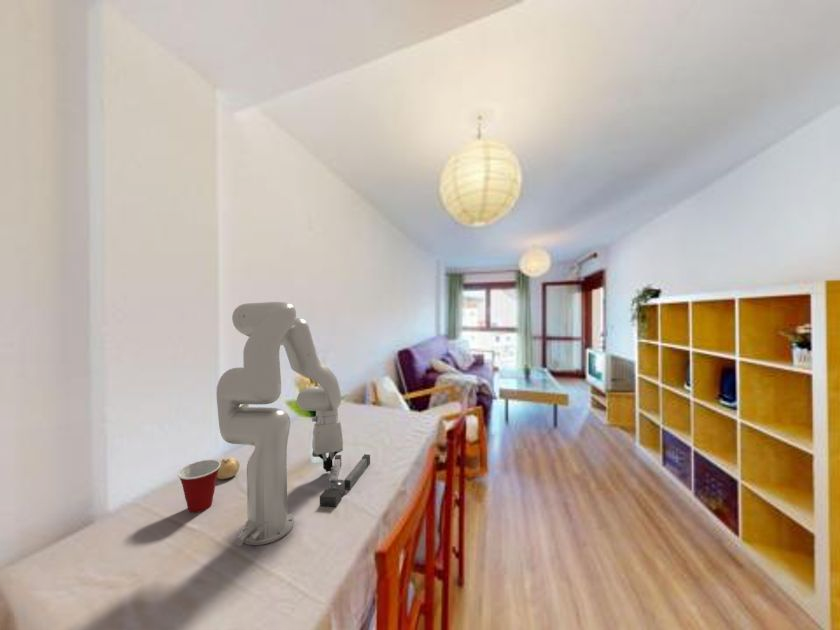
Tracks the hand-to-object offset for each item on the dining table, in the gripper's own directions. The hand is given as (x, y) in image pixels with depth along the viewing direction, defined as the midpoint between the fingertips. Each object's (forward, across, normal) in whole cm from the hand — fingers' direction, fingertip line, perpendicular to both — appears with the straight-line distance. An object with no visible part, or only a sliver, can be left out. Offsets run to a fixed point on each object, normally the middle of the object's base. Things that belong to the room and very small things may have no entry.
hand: (327, 470), depth 117 cm
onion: (+2, -32, +16) cm, 36 cm away
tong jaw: (+1, +3, -6) cm, 7 cm away
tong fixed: (+1, +5, -10) cm, 11 cm away
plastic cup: (+1, -38, -3) cm, 38 cm away
